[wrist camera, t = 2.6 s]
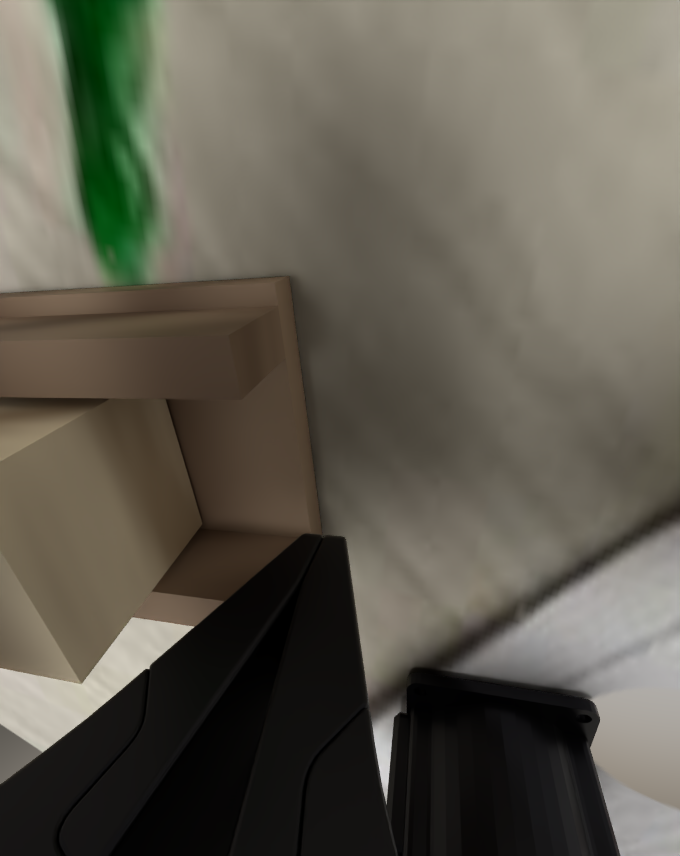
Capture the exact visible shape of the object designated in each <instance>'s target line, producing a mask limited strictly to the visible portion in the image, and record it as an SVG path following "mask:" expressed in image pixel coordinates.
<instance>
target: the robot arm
mask: <svg viewBox="0 0 680 856" xmlns="http://www.w3.org/2000/svg"><path fill="white" fill-rule="evenodd" d="M599 722H600V717H599V714H598V711H597V708H596V705H595V704H594V703H593V702H592V701H590V700H588V699H584V698H579V697H572V696H566V695H559V694H553V693H547V692H540V691H534V690H527V689H521V688H515V687H508V686H502V685H495V684H489V683H483V682H476V681H470V680H463V679H457V678H451V677H444V676H438V675H432V674H425V673H412V674H410V675H409V676H408V679H407V713H403V712H399V713H398V714H397V715H396V716H395V717H394V727H393V738H392V750H391V761H390V773H389V784H388V796H387V806H386V801H385V797H384V793H383V788H382V783H381V777H380V771H379V766H378V760H377V754H376V748H375V742H374V735H373V728H372V721H371V714H370V711H369V701H368V694H367V687H366V680H365V672H364V665H363V658H362V651H361V643H360V636H359V629H358V622H357V614H356V607H355V600H354V593H353V585H352V578H351V571H350V564H349V556H348V549H347V542H346V538H345V537H343V536H334V535H327V536H325V537H324V536H323V535H321V534H310V533H304V534H302V535H301V536H299V537H298V538H297V539H296V540H295V541H294V542H292V543H291V544H290V545H289V546H288V547H287V548H285V549H284V550H283V551H282V552H281V553H280V554H278V555H277V556H276V557H275V558H274V559H273V560H272V561H270V562H269V563H268V564H267V565H266V566H265V567H263V568H262V569H261V570H260V571H259V572H258V573H256V574H255V575H254V576H253V577H252V578H251V579H250V580H248V581H247V582H246V583H245V584H244V585H243V586H241V587H240V588H239V589H238V590H237V591H236V592H234V593H233V594H232V595H231V596H230V597H229V598H228V599H226V600H225V601H224V602H223V603H222V604H221V605H219V606H218V607H217V608H216V609H215V610H214V611H212V612H211V613H210V614H209V615H208V616H207V617H206V618H204V619H203V620H202V621H201V622H200V623H199V624H197V625H196V626H195V627H194V628H193V629H192V630H190V631H189V632H188V633H187V634H186V635H185V636H184V637H182V638H181V639H180V640H179V641H178V642H177V643H175V644H174V645H173V646H172V647H171V648H170V649H168V650H167V651H166V652H165V653H164V654H163V655H162V656H160V657H159V658H158V659H157V660H156V661H155V662H153V663H152V664H151V666H150V669H145V670H144V671H143V672H142V673H140V674H139V675H138V676H137V677H136V678H135V679H133V680H132V681H131V682H130V683H129V684H128V685H127V686H125V687H124V688H123V689H122V690H121V691H119V692H118V693H117V694H116V695H115V696H113V697H112V698H111V699H110V700H109V701H107V702H106V703H105V704H104V705H103V706H101V707H100V708H99V709H98V710H97V711H95V712H94V713H93V714H92V715H91V716H89V717H88V718H87V719H86V720H84V721H83V722H82V723H80V724H79V725H78V726H77V727H75V728H74V729H73V730H71V731H70V732H69V733H68V734H66V735H65V736H64V737H62V738H61V739H60V740H58V741H57V742H56V743H55V744H53V745H52V746H51V747H49V748H48V749H47V750H46V751H44V752H43V753H42V754H40V755H39V756H38V757H36V758H35V759H34V760H32V761H31V762H30V763H28V764H27V765H26V766H24V767H23V768H22V769H20V770H19V771H18V772H16V773H15V774H14V775H12V776H11V777H10V778H8V779H7V780H6V781H4V782H3V783H2V784H0V856H620V853H619V849H618V846H617V842H616V839H615V835H614V832H613V828H612V825H611V821H610V817H609V814H608V810H607V807H606V803H605V800H604V796H603V793H602V789H601V786H600V782H599V779H598V775H597V771H596V768H595V764H594V761H593V757H592V754H591V751H590V746H591V744H592V741H593V738H594V736H595V733H596V731H597V728H598V725H599Z"/></svg>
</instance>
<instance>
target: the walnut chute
mask: <svg viewBox="0 0 680 856" xmlns="http://www.w3.org/2000/svg"><path fill="white" fill-rule="evenodd" d="M0 397H31V398H116V399H166V403H167V406H168V409H169V413H170V416H171V419H172V423H173V426H174V430H175V433H176V436H177V440H178V443H179V446H180V450H181V453H182V456H183V460H184V463H185V467H186V470H187V473H188V477H189V480H190V483H191V487H192V490H193V494H194V497H195V500H196V504H197V507H198V510H199V514H200V517H201V520H202V525H201V527H200V528H199V529H198V530H197V532H196V533H195V534H194V536H193V537H192V538H191V540H190V541H189V542H188V544H187V545H186V546H185V548H184V549H183V550H182V552H181V553H180V554H179V556H178V557H177V558H176V560H175V561H174V562H173V564H172V565H171V566H170V568H169V569H168V570H167V572H166V573H165V574H164V575H163V577H162V578H161V579H160V581H159V582H158V583H157V585H156V586H155V587H154V589H153V590H152V591H151V593H150V594H149V595H148V597H147V598H146V599H145V601H144V602H143V603H142V605H141V606H140V607H139V609H138V610H137V611H136V613H135V614H134V615H133V617H135V618H142V619H149V620H155V621H162V622H169V623H175V624H182V625H189V626H196V625H197V624H199V623H200V622H201V621H202V620H203V619H204V618H206V617H207V616H208V615H209V614H210V613H211V612H212V611H214V610H215V609H216V608H217V607H218V606H219V605H221V604H222V603H223V602H224V601H225V600H226V599H228V598H229V597H230V596H231V595H232V594H233V593H234V592H236V591H237V590H238V589H239V588H240V587H241V586H243V585H244V584H245V583H246V582H247V581H248V580H250V579H251V578H252V577H253V576H254V575H255V574H256V573H258V572H259V571H260V570H261V569H262V568H263V567H265V566H266V565H267V564H268V563H269V562H270V561H272V560H273V559H274V558H275V557H276V556H277V555H278V554H280V553H281V552H282V551H283V550H284V549H285V548H287V547H288V546H289V545H290V544H291V543H292V542H294V541H295V540H296V539H297V538H298V537H299V536H301V535H302V534H304V533H310V534H321V535H322V528H321V520H320V512H319V504H318V497H317V489H316V481H315V473H314V465H313V458H312V450H311V442H310V434H309V426H308V419H307V411H306V403H305V395H304V387H303V380H302V372H301V364H300V356H299V348H298V341H297V333H296V325H295V317H294V309H293V302H292V294H291V286H290V278H289V276H286V277H269V278H252V279H235V280H219V281H202V282H185V283H168V284H152V285H135V286H118V287H101V288H85V289H68V290H51V291H34V292H18V293H1V294H0Z"/></svg>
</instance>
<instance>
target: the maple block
mask: <svg viewBox="0 0 680 856" xmlns="http://www.w3.org/2000/svg"><path fill="white" fill-rule="evenodd" d="M201 525H202V520H201V517H200V514H199V510H198V507H197V504H196V500H195V497H194V494H193V490H192V487H191V483H190V480H189V477H188V473H187V470H186V467H185V463H184V460H183V456H182V453H181V450H180V446H179V443H178V440H177V436H176V433H175V430H174V426H173V423H172V419H171V416H170V413H169V409H168V406H167V403H166V399H116V398H31V397H0V668H3V669H8V670H13V671H18V672H23V673H28V674H34V675H39V676H44V677H49V678H54V679H59V680H64V681H69V682H74V683H79V684H82V683H83V681H84V680H85V679H86V677H87V676H88V675H89V673H90V672H91V671H92V669H93V668H94V667H95V665H96V664H97V663H98V661H99V660H100V659H101V658H102V656H103V655H104V654H105V652H106V651H107V650H108V648H109V647H110V646H111V644H112V643H113V642H114V640H115V639H116V638H117V636H118V635H119V634H120V632H121V631H122V630H123V628H124V627H125V626H126V624H127V623H128V622H129V620H130V619H131V618H132V617H133V615H134V614H135V613H136V611H137V610H138V609H139V607H140V606H141V605H142V603H143V602H144V601H145V599H146V598H147V597H148V595H149V594H150V593H151V591H152V590H153V589H154V587H155V586H156V585H157V583H158V582H159V581H160V579H161V578H162V577H163V575H164V574H165V573H166V572H167V570H168V569H169V568H170V566H171V565H172V564H173V562H174V561H175V560H176V558H177V557H178V556H179V554H180V553H181V552H182V550H183V549H184V548H185V546H186V545H187V544H188V542H189V541H190V540H191V538H192V537H193V536H194V534H195V533H196V532H197V530H198V529H199V528H200V527H201Z"/></svg>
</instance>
